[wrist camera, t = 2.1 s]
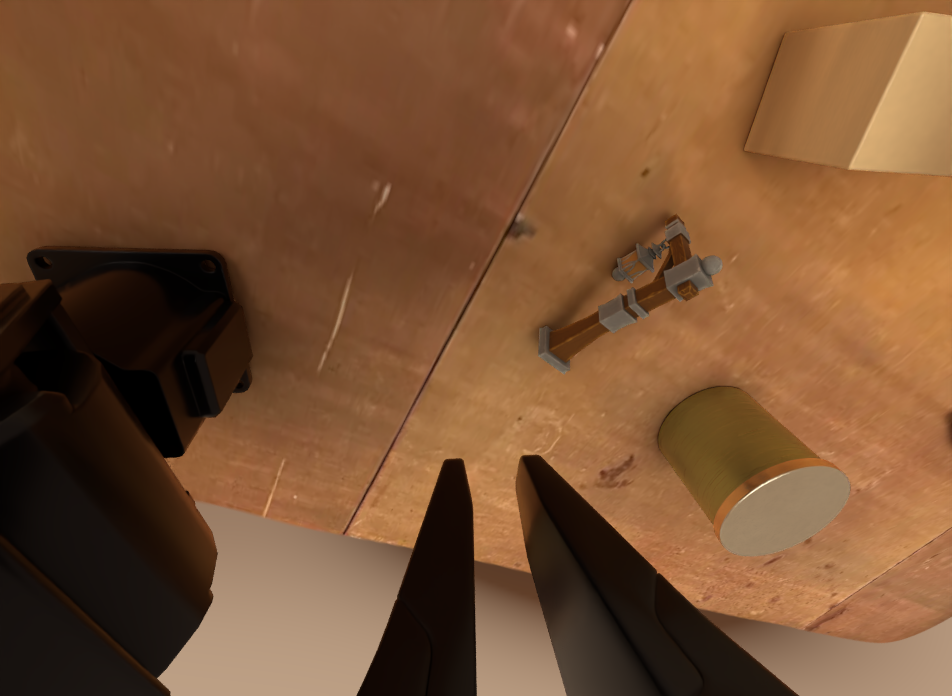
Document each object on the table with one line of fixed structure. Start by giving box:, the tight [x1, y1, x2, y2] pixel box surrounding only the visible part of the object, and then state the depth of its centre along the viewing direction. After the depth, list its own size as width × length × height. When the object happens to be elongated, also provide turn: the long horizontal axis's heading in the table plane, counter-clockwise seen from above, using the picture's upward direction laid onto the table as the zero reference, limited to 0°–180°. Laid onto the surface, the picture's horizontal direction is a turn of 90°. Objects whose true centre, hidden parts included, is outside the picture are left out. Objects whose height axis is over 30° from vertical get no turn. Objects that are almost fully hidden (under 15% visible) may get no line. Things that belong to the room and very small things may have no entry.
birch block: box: [744, 12, 952, 177], centre depth 15 cm, size 8×4×5 cm, turn 86°
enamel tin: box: [658, 386, 850, 556], centre depth 23 cm, size 6×6×6 cm
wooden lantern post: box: [538, 214, 722, 375], centre depth 19 cm, size 2×8×4 cm, turn 140°
